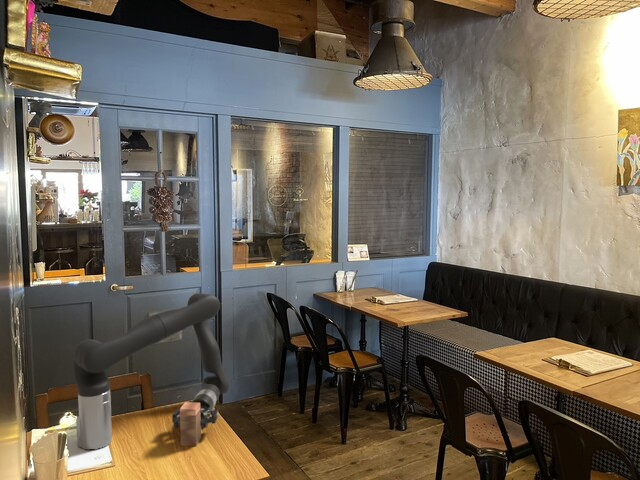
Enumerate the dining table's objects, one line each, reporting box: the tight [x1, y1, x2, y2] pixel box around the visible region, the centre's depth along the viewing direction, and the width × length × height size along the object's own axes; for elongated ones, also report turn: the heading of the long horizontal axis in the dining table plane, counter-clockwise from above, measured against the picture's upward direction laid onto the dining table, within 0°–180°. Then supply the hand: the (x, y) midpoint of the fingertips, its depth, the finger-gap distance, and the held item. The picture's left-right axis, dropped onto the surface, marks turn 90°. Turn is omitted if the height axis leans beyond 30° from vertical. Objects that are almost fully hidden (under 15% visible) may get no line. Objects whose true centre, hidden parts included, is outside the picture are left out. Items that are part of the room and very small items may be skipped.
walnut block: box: [179, 401, 202, 447], centre depth 155 cm, size 5×5×12 cm
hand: (189, 426), depth 153 cm, fingers open, 8 cm apart
